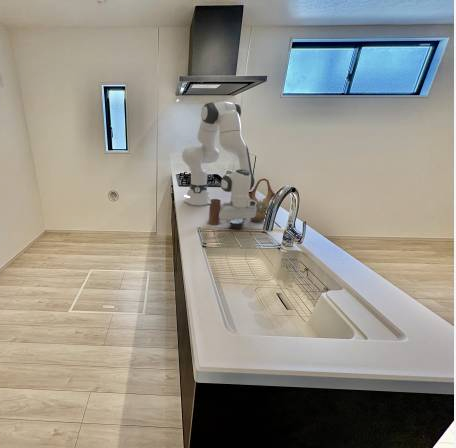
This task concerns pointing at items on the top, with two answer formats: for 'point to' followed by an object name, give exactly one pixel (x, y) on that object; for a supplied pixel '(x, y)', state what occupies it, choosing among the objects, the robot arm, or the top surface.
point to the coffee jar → (214, 211)
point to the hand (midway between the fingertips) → (235, 226)
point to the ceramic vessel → (261, 202)
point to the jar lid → (236, 224)
